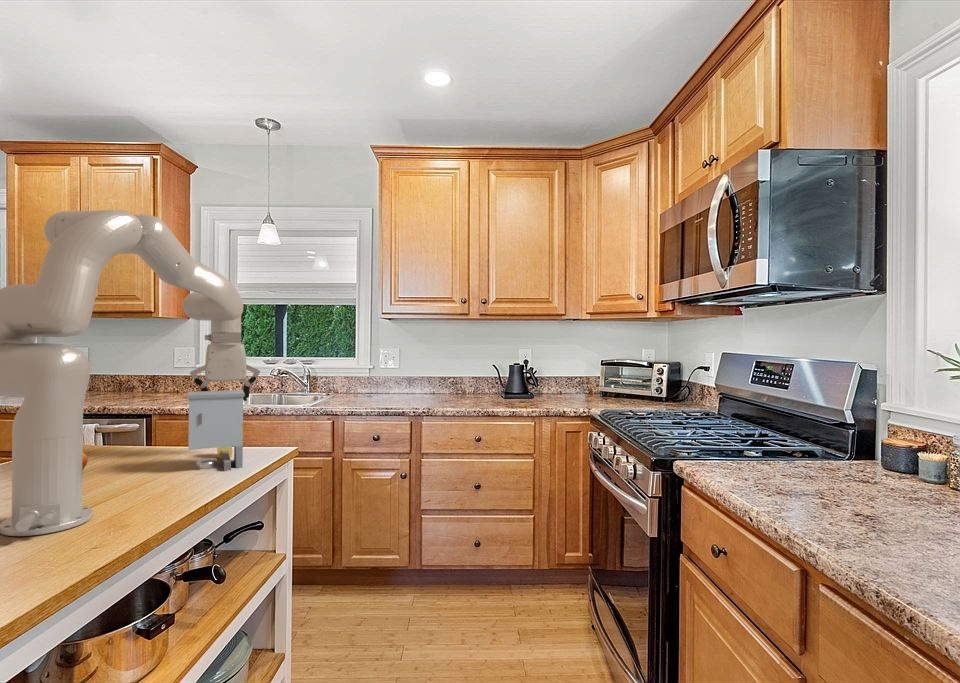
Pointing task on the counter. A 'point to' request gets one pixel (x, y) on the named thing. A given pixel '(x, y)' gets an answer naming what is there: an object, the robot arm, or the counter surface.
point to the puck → (206, 463)
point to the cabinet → (217, 421)
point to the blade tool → (225, 456)
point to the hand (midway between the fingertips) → (225, 401)
